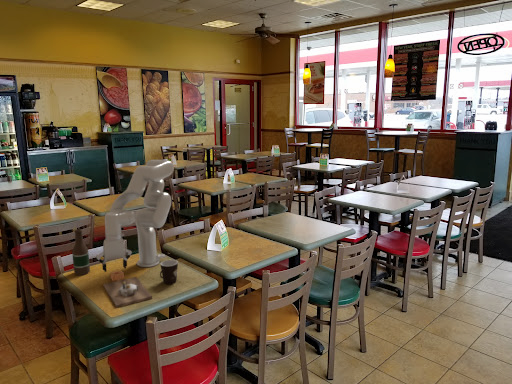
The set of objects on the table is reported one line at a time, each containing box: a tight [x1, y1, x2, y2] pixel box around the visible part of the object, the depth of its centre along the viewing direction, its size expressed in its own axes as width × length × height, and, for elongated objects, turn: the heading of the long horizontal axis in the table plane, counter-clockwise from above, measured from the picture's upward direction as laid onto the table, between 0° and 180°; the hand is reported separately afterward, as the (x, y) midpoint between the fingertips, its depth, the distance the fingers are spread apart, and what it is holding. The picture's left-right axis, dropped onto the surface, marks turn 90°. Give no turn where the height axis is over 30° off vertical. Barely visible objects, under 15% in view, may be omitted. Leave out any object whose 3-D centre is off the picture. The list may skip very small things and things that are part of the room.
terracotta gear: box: [110, 270, 125, 282], centre depth 203 cm, size 6×6×3 cm
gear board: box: [103, 276, 153, 308], centre depth 187 cm, size 16×26×6 cm, turn 32°
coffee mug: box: [159, 259, 179, 285], centre depth 197 cm, size 12×9×10 cm
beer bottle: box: [72, 228, 91, 276], centre depth 208 cm, size 8×8×24 cm
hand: (115, 269), depth 201 cm, fingers open, 9 cm apart
